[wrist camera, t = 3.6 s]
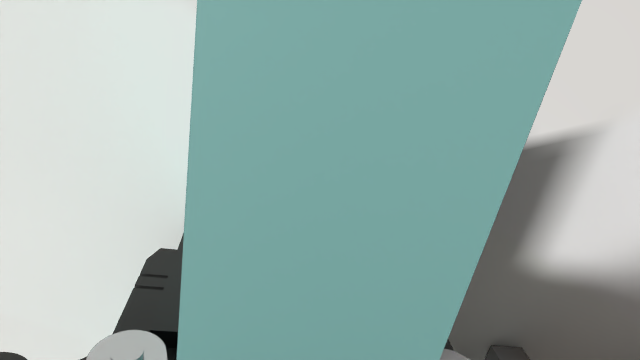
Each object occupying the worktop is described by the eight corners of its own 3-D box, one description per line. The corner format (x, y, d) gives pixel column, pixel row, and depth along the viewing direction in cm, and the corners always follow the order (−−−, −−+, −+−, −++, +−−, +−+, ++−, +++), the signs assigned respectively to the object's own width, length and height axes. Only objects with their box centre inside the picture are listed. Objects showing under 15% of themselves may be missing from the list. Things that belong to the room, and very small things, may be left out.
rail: (419, -32, 10) (601, -50, 4) (305, 429, 16) (322, 653, 11) (245, -69, 9) (204, -145, 4) (198, 426, 16) (158, 664, 10)
